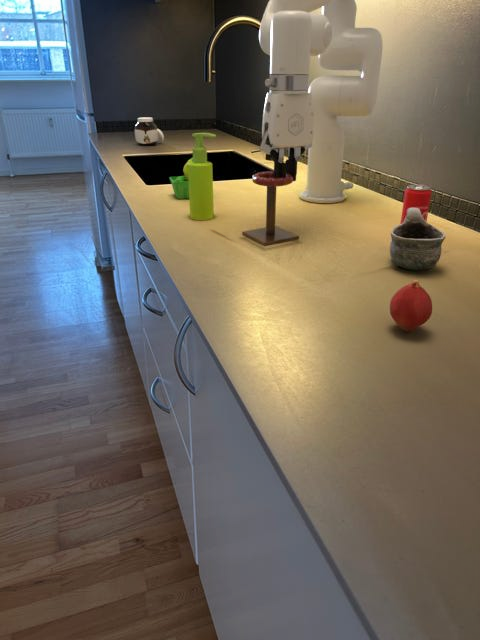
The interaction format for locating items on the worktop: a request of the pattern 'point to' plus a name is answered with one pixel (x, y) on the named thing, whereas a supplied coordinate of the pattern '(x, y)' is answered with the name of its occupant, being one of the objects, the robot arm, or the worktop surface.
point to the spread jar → (147, 132)
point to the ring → (271, 179)
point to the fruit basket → (181, 183)
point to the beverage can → (417, 200)
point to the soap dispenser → (200, 181)
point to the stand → (270, 225)
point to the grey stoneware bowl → (415, 242)
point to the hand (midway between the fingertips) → (285, 180)
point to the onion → (411, 306)
